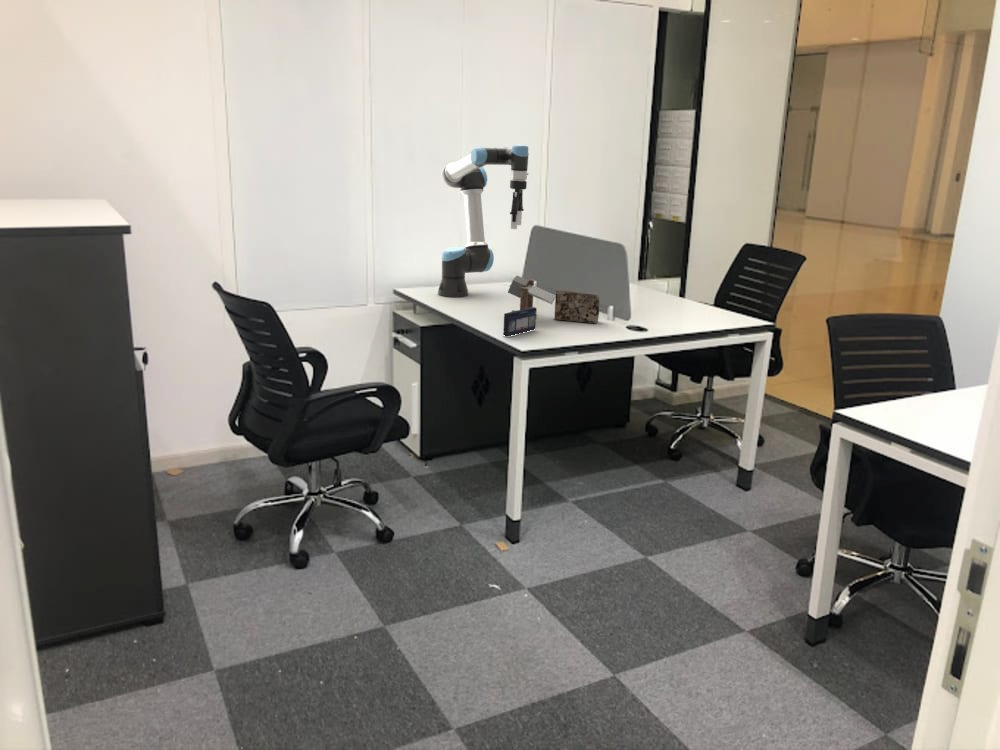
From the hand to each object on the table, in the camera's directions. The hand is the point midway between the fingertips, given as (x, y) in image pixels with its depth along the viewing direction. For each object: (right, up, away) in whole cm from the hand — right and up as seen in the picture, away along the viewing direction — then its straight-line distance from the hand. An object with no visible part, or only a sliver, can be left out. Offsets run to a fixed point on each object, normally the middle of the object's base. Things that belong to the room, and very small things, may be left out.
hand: (516, 227), depth 370 cm
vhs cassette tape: (+1, -51, -35) cm, 62 cm away
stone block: (+17, -37, -10) cm, 42 cm away
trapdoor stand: (+2, -43, -9) cm, 44 cm away
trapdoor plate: (+6, -35, -13) cm, 37 cm away
